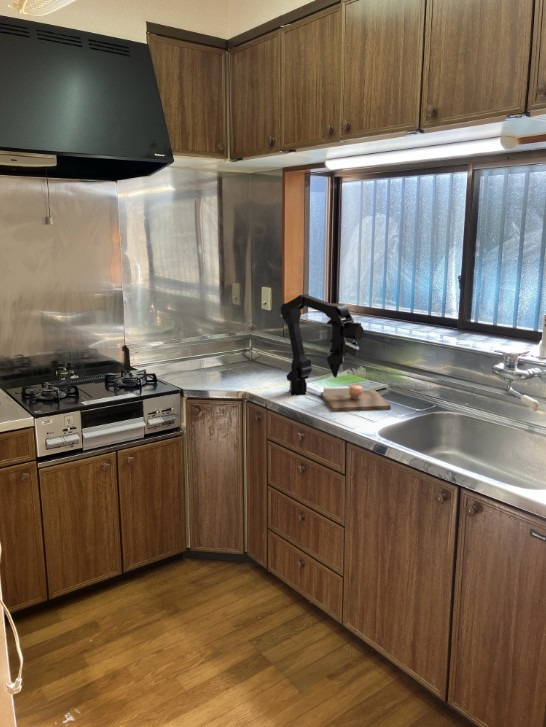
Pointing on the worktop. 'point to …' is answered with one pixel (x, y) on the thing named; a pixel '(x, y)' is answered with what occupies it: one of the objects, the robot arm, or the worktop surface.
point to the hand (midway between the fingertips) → (336, 374)
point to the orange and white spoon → (343, 390)
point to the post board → (356, 401)
